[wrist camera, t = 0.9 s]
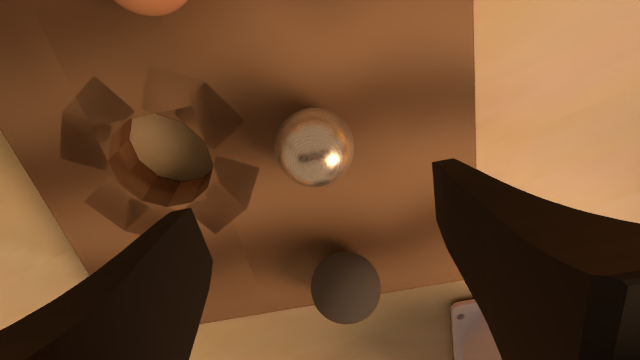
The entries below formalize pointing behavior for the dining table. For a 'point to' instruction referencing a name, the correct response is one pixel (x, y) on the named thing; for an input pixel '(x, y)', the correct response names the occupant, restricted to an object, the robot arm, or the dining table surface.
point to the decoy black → (345, 287)
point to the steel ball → (314, 147)
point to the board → (245, 130)
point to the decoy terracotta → (151, 6)
